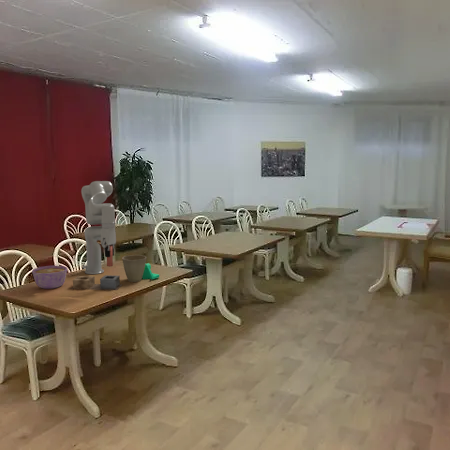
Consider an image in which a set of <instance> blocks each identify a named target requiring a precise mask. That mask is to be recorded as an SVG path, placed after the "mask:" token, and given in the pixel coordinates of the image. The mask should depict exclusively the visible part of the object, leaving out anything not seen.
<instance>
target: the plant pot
mask: <svg viewBox="0 0 450 450" xmlns="http://www.w3.org/2000/svg"><path fill="white" fill-rule="evenodd" d="M146 261H147V256H145V255H142V254H131V255H125V256H123V257H122V266H123V269H124V273H125V276H126V278H127V281H128V282H130V283H131V282H133V283H137V282H141V281H142V279H143V278H142V276H143V273H144V269H145V264H147V263H146Z"/></svg>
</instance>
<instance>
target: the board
mask: <svg viewBox="0 0 450 450" xmlns="http://www.w3.org/2000/svg"><path fill="white" fill-rule="evenodd" d="M122 286H123V284H120V285H119V286H118V287H117V288H116V289H100V283H95V285H94V286H92V287H91V288H90V289H88V290H93V291H94V290H96V291H99V290H100V291H118V290H119V289H120V288H121V287H122ZM70 290H83V289H82V288H73V287H71V288H70Z"/></svg>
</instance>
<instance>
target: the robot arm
mask: <svg viewBox="0 0 450 450" xmlns="http://www.w3.org/2000/svg"><path fill="white" fill-rule="evenodd" d="M113 190H114V188H113V184H112V183H111V181H108V180H102V181H101V180H95V181H92V182H91V183H90V184H89V185H83V186H82V188H81V191H80V193H81V197H82V200H83V202H84V205H85V206H84V207H85V220H86V221H85V222H86V223H87V225H93V226H88V227H86V228H85V229H84V231H83V232H84V238H85V244H86V245H85V247H86V249H85V250H86V265H85V264H83V265H82V269H84V270H85V271H84V274H86V275H98V274H102V273H104V272H105V270H104V269H103V268H102V248H103V249H104V257H105V258H107V257H110V250H109V246H112V253H113V257H114V255H115V254H114V253H115V250H114V249H115V247H116V246H115V245H116V244H117V234H116V233H117V232H116V219H115V217H116V216H115V215H116V214H115V211H116V210H115V205H114V204H112V203H109V202H108V203H104V202H105V201H106V200H107V198H108V197H110V196H111V194H112V193H113ZM97 225H99V226H97ZM98 241H100V243H99V242H98ZM106 246H108V248H107V247H106Z"/></svg>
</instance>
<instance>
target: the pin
mask: <svg viewBox="0 0 450 450" xmlns="http://www.w3.org/2000/svg"><path fill="white" fill-rule="evenodd" d="M106 247H107V248H108V246H106ZM109 250H110V257H106V267H113V265H114V264H113V258H114V256H113V253H112V246H109Z"/></svg>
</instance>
